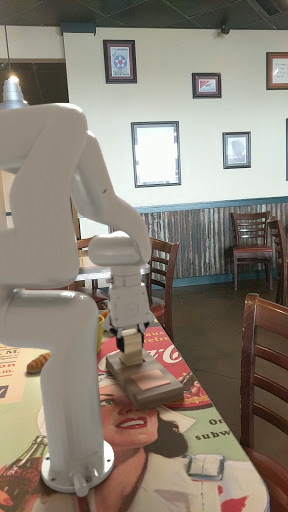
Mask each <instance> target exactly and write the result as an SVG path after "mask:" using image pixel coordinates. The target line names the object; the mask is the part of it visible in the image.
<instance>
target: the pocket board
mask: <svg viewBox="0 0 288 512" xmlns="http://www.w3.org/2000/svg"><path fill="white" fill-rule="evenodd" d="M142 357H143V363H139V364H135V365H131V366H127V367H126V366H125V365H124V364H123V363H122V362H121V358H120V351H119V352H115V353H111V354H107V355H105V357H104V358H105V366H106V368H107V369H108V371H109V372H110V373H111V375H112V376H113V378H114V379H115V381H116V382H117V383H118V384H119V386H120V387H121V389H122V391H123V392H125V394H126V395H127V397H128V398H129V400H130V401H131V403H132V404H133V405H134V407H135V408H136V409H137V411H138V412H143V411H146V410H149V409H154V408H155V407H160V406H163V405H166V404H170V403H172V402H176V401H179V400H180V401H181V400H182V399H185V388H184V387H185V386H184V385H183V384H182V383H181V382H180V381H179V380H178V379H177V378H176V377H175V376H174V375H173V374H171V372H170V371H168V369H166V367H164V366H163V365H162V364H161V363H160V362H159V361H158V360H157V359H156V358H155V357H154V356H153V355H152V354H151V353H150V352H149V351H148V350H146V349H145V348H144V347H143V348H142Z"/></svg>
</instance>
